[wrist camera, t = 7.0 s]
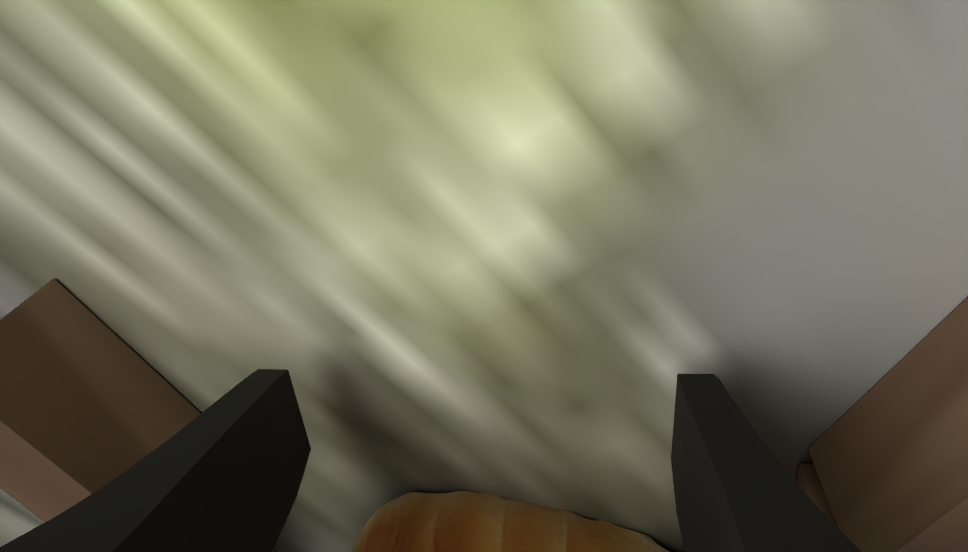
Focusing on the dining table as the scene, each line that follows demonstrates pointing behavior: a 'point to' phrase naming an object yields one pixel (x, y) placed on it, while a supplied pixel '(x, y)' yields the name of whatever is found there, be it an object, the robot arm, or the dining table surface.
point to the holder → (160, 415)
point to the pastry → (489, 527)
